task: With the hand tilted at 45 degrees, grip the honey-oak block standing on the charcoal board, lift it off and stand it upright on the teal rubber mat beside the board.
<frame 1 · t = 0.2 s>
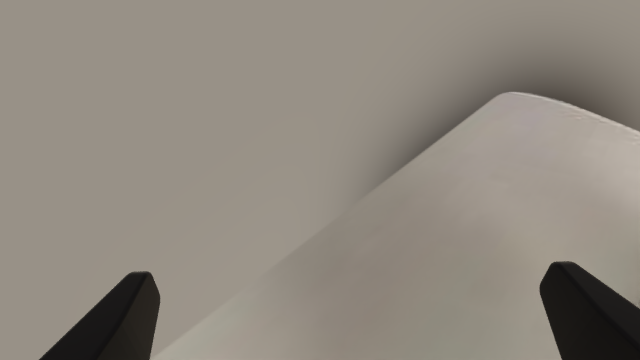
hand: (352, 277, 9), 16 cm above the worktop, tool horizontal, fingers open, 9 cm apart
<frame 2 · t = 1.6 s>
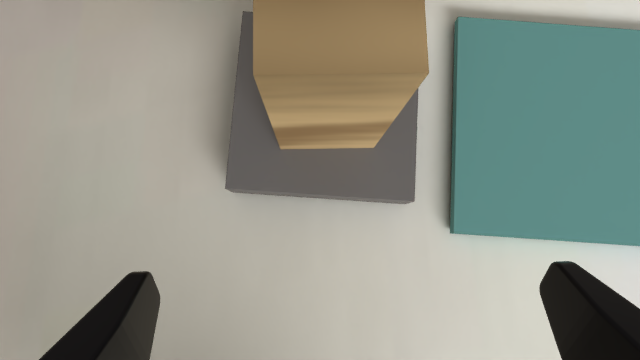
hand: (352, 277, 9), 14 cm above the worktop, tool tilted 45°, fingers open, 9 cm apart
oak block: (326, 103, 21), point 2 cm above the worktop, touching charcoal board
charcoal board: (324, 114, 23), on the worktop
teal mat: (560, 131, 24), on the worktop
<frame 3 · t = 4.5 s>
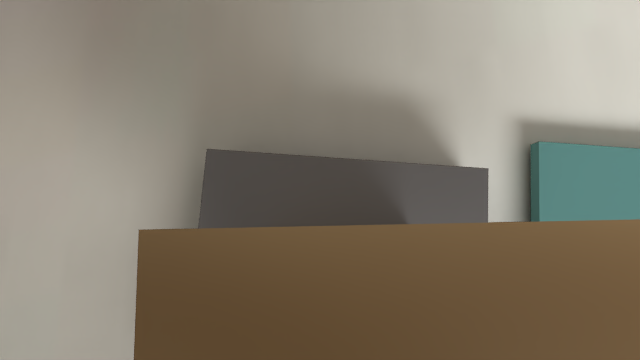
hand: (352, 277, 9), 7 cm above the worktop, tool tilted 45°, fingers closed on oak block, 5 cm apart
oak block: (339, 304, 13), point 2 cm above the worktop, touching charcoal board, gripper
charcoal board: (336, 294, 15), on the worktop
when the fingers open (7 cm above the worktop, at t = 8.9 s): oak block drops 1 cm, resting on teal mat.
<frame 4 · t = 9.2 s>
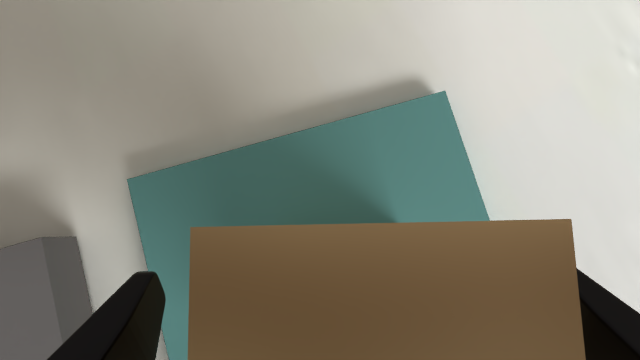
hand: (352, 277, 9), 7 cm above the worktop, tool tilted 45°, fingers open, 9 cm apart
oak block: (337, 295, 15), point 1 cm above the worktop, touching teal mat
teal mat: (335, 294, 15), on the worktop
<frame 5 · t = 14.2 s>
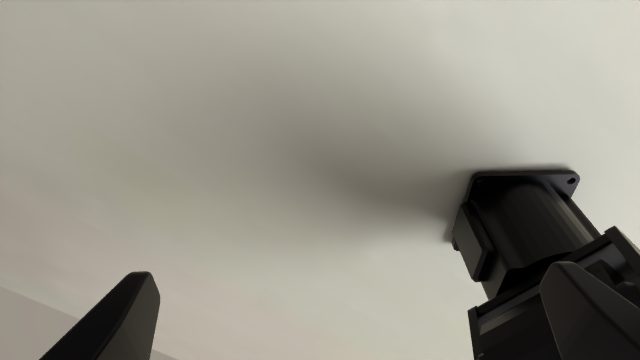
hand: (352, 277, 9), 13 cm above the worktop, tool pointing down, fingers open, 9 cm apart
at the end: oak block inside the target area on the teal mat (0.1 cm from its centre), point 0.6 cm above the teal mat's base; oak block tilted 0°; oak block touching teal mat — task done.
